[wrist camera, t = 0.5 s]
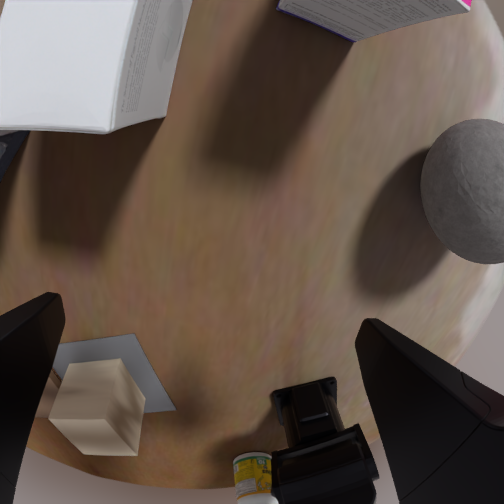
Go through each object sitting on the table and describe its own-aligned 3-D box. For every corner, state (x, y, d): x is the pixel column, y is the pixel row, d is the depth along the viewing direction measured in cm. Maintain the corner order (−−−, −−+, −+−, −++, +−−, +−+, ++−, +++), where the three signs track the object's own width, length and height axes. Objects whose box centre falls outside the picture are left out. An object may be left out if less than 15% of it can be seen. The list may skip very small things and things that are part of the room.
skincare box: (108, -28, 13) (41, -96, 4) (200, -26, 14) (191, -115, 5) (75, 112, 17) (-25, 132, 8) (166, 120, 19) (117, 136, 9)
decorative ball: (488, 205, 24) (565, 252, 15) (408, 247, 24) (481, 318, 16) (473, 100, 19) (568, 119, 10) (380, 131, 20) (477, 161, 11)
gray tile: (176, 409, 30) (176, 410, 30) (90, 414, 30) (90, 415, 30) (134, 333, 25) (134, 334, 25) (39, 346, 25) (38, 346, 25)
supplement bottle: (225, 458, 36) (230, 520, 27) (260, 446, 35) (271, 511, 27) (245, 470, 38) (252, 526, 30) (279, 459, 38) (290, 518, 29)
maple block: (145, 398, 29) (137, 455, 23) (97, 401, 29) (83, 454, 23) (120, 358, 26) (104, 419, 20) (69, 363, 26) (48, 418, 20)
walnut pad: (84, 412, 30) (82, 418, 29) (27, 410, 30) (25, 416, 29) (38, 350, 25) (34, 356, 25) (-18, 354, 25) (-21, 360, 24)
